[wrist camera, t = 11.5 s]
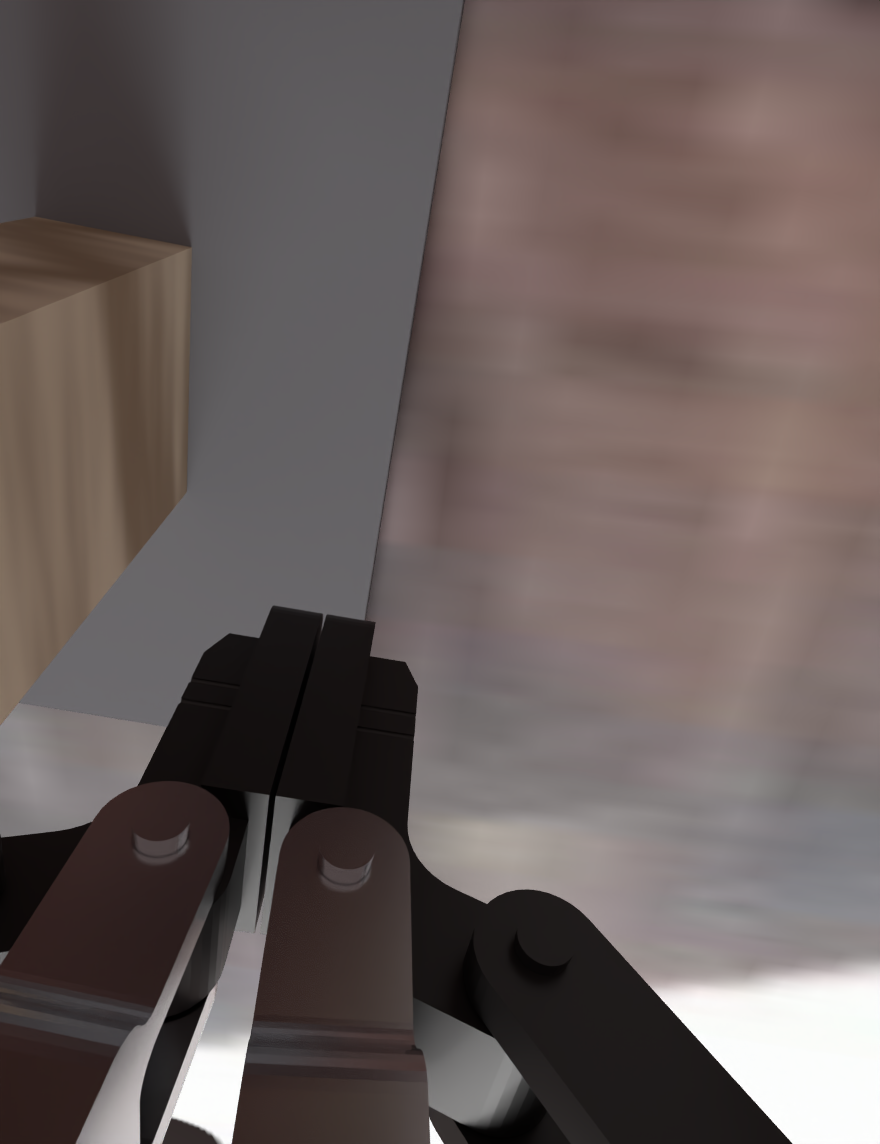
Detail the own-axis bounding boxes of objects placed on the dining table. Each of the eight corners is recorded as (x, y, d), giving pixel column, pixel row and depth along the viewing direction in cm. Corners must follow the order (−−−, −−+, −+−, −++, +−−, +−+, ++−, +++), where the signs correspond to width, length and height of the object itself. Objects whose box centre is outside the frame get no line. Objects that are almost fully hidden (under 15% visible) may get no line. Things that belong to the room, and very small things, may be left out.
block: (192, 247, 20) (-64, 349, 11) (186, 491, 24) (-10, 737, 14) (35, 216, 20) (-372, 292, 10) (53, 468, 23) (-240, 701, 14)
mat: (492, -175, 17) (493, -192, 16) (346, 736, 29) (342, 755, 28) (-594, -427, 15) (-657, -460, 15) (-256, 638, 28) (-280, 654, 27)
